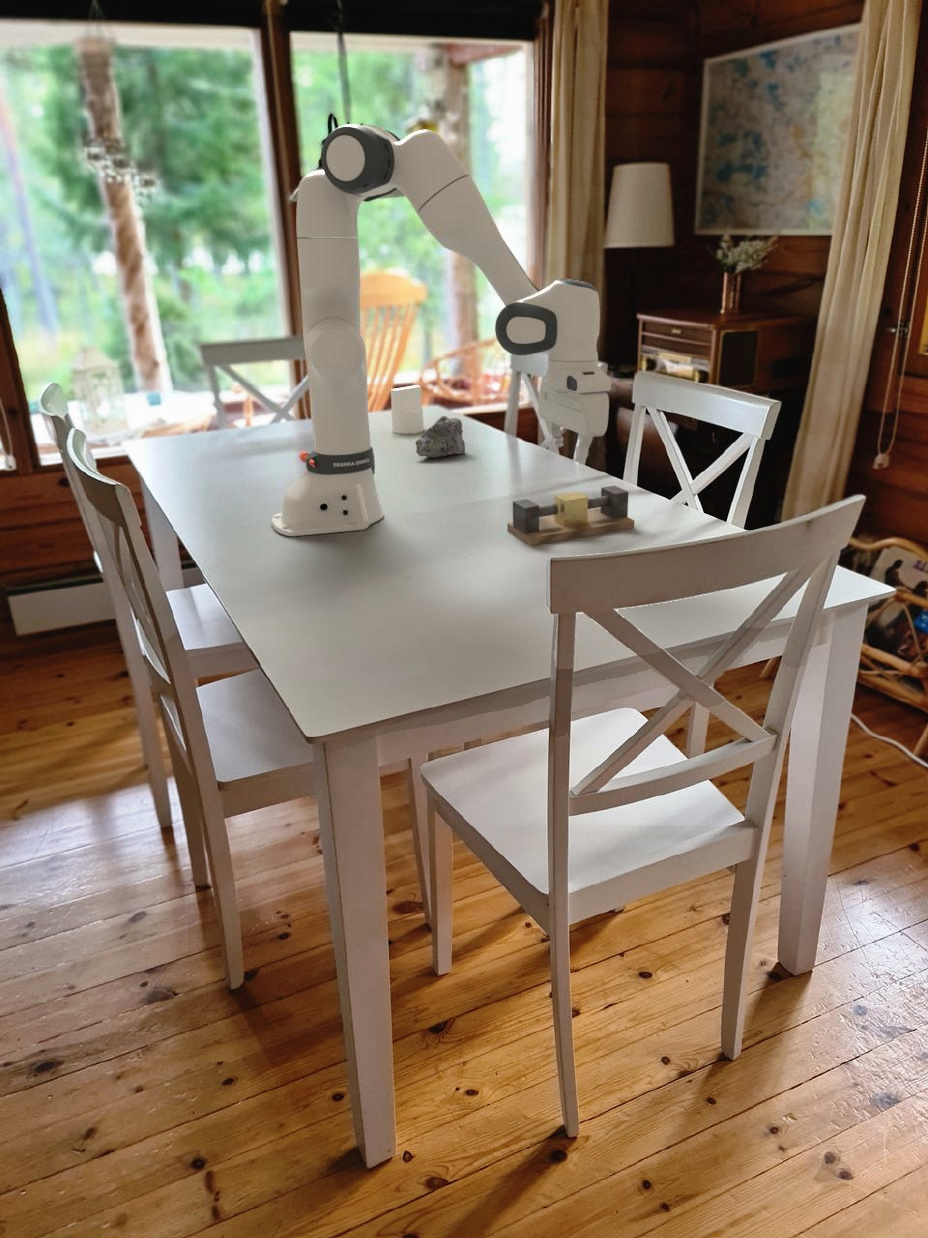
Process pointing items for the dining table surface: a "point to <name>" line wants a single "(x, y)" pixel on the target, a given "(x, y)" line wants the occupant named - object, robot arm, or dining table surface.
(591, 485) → the dining table surface
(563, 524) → the yellow cube
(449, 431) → the mineral rock
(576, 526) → the shaft stand
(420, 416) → the cylinder with rectangular tab
